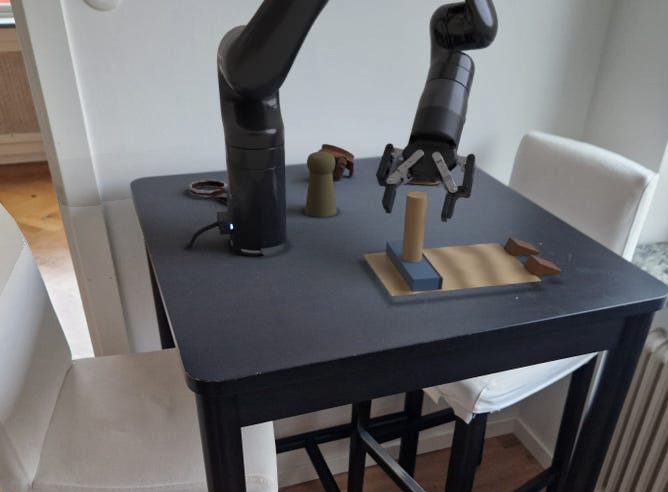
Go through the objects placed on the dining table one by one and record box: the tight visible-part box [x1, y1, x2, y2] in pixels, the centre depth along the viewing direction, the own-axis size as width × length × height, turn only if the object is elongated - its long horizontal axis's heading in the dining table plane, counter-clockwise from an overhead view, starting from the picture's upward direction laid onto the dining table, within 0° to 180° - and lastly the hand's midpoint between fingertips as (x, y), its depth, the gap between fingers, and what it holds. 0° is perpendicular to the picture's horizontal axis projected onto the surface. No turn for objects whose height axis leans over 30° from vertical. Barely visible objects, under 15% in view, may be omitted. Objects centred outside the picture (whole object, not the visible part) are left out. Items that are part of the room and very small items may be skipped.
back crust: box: [503, 236, 540, 257], centre depth 112 cm, size 4×3×2 cm
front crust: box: [523, 255, 563, 277], centre depth 106 cm, size 4×3×2 cm
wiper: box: [385, 190, 443, 292], centre depth 101 cm, size 5×14×12 cm, turn 13°
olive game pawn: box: [304, 151, 337, 218], centre depth 126 cm, size 6×6×11 cm
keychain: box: [188, 179, 228, 204], centre depth 132 cm, size 8×19×2 cm, turn 55°
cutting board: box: [361, 242, 542, 297], centre depth 106 cm, size 24×15×2 cm, turn 106°
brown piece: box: [308, 143, 355, 183], centre depth 143 cm, size 12×10×8 cm
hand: (415, 215), depth 100 cm, fingers open, 8 cm apart
